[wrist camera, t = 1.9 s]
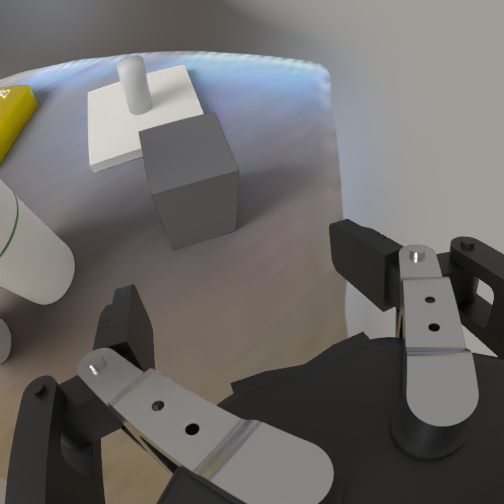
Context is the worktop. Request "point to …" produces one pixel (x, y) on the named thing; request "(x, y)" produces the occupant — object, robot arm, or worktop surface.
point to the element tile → (14, 113)
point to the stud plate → (126, 126)
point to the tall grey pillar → (191, 178)
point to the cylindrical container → (31, 253)
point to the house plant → (4, 341)
